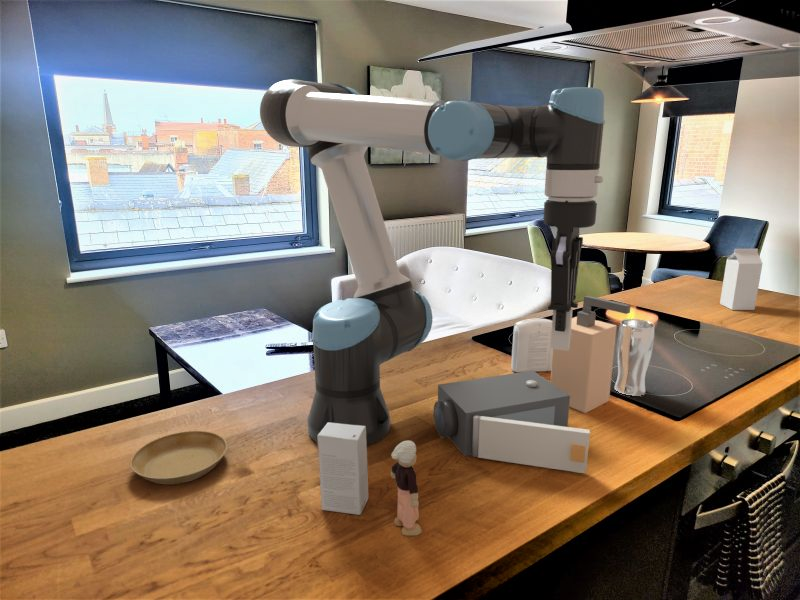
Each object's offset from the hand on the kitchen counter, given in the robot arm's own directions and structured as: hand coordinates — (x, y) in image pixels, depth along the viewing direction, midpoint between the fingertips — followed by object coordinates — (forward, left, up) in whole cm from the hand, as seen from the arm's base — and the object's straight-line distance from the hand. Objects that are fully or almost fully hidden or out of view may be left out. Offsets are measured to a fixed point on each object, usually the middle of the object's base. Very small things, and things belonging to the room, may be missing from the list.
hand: (560, 347), depth 89 cm
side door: (-6, -2, -19) cm, 20 cm away
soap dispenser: (+18, +14, -19) cm, 30 cm away
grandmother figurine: (-29, -9, -19) cm, 36 cm away
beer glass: (+30, +16, -19) cm, 39 cm away
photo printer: (+17, +33, -19) cm, 42 cm away
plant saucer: (-59, +17, -20) cm, 65 cm away
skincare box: (-36, -2, -19) cm, 41 cm away
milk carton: (+106, +56, -19) cm, 121 cm away
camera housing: (-5, +10, -19) cm, 22 cm away
